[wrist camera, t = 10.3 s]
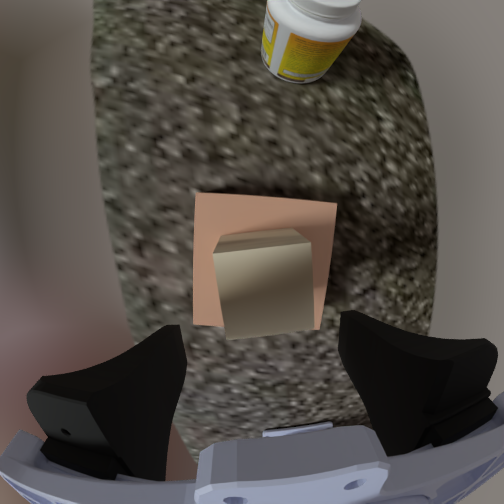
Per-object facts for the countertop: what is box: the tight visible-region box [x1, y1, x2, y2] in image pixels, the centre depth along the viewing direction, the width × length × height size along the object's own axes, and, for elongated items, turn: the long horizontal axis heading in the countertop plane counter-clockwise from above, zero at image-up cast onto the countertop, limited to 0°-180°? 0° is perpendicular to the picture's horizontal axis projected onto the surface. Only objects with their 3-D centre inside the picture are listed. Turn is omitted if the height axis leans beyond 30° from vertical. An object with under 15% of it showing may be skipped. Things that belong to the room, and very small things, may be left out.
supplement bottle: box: [261, 0, 362, 83], centre depth 13 cm, size 6×6×10 cm
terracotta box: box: [193, 192, 337, 330], centre depth 20 cm, size 9×9×4 cm
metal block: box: [213, 228, 315, 340], centre depth 15 cm, size 4×4×5 cm
